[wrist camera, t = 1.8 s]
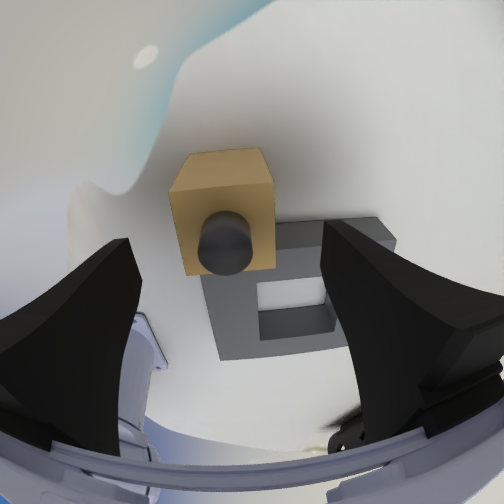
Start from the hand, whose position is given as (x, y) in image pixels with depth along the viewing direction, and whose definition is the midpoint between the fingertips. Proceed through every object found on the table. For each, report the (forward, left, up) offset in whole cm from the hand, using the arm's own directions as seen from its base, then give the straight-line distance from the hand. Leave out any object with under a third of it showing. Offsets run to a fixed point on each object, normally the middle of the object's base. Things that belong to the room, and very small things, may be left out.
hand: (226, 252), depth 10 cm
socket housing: (+4, -8, -7) cm, 12 cm away
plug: (0, 0, -8) cm, 8 cm away
